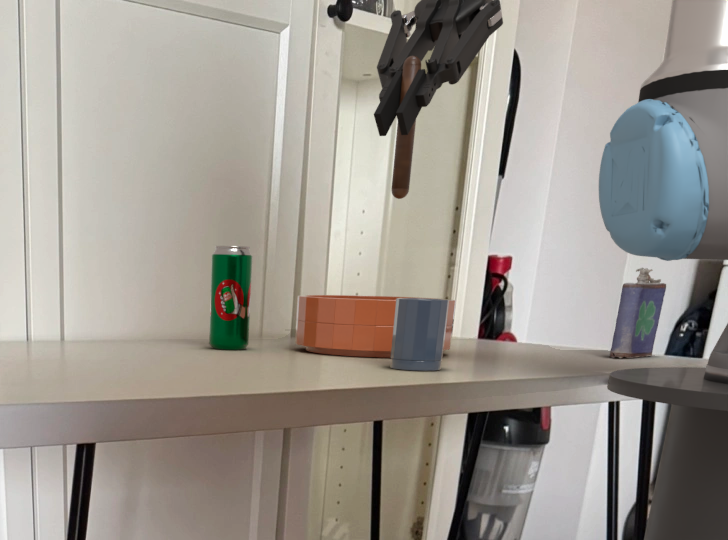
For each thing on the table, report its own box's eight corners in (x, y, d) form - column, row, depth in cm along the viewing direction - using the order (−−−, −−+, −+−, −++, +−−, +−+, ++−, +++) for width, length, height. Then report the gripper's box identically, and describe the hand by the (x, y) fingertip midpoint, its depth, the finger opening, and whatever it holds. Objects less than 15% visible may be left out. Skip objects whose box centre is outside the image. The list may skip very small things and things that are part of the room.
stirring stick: (411, 199, 118) (426, 56, 112) (401, 198, 117) (415, 53, 111) (397, 199, 119) (410, 58, 114) (387, 198, 118) (400, 55, 112)
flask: (623, 358, 131) (640, 267, 127) (602, 357, 133) (617, 267, 129) (656, 356, 137) (673, 268, 133) (635, 354, 139) (651, 268, 135)
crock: (450, 369, 111) (459, 299, 108) (421, 371, 108) (429, 300, 105) (409, 365, 115) (416, 297, 112) (379, 367, 111) (386, 298, 108)
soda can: (227, 346, 135) (230, 246, 130) (256, 349, 132) (261, 246, 127) (200, 347, 132) (203, 245, 127) (230, 350, 129) (234, 245, 124)
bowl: (478, 354, 132) (485, 300, 129) (388, 361, 119) (394, 301, 117) (356, 344, 145) (360, 294, 142) (263, 349, 132) (266, 295, 129)
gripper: (537, -1, 117) (462, 152, 111) (415, 13, 125) (339, 156, 119) (529, -70, 111) (449, 88, 105) (401, -51, 119) (320, 97, 113)
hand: (390, 124), depth 112 cm, fingers closed on stirring stick, 2 cm apart
